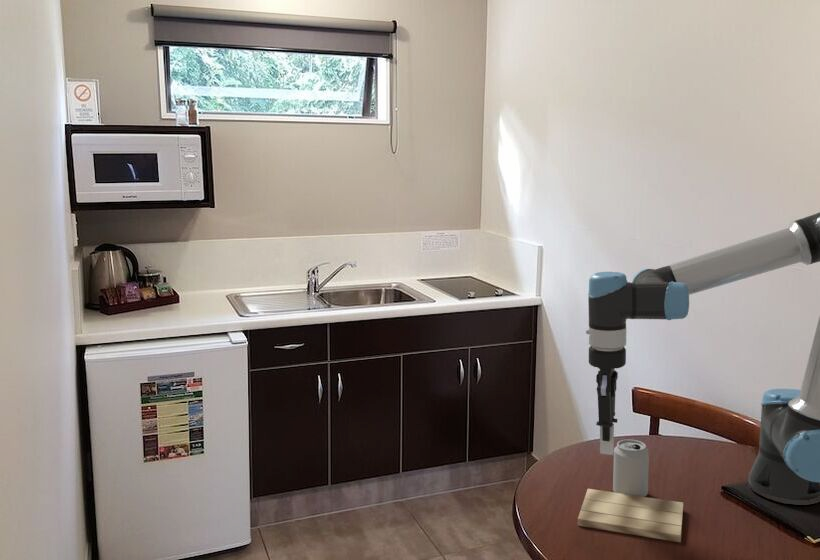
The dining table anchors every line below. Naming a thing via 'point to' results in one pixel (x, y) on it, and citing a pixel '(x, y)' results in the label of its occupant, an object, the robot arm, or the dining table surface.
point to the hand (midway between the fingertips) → (606, 452)
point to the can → (631, 468)
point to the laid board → (630, 525)
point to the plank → (633, 506)
